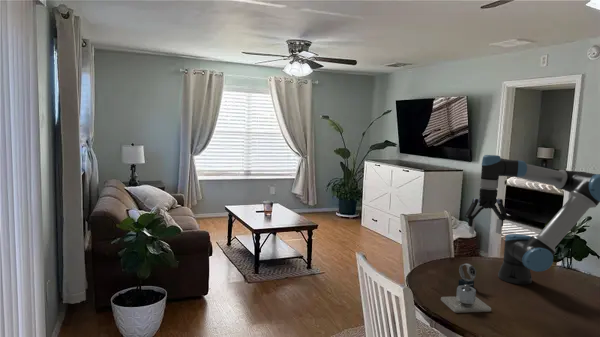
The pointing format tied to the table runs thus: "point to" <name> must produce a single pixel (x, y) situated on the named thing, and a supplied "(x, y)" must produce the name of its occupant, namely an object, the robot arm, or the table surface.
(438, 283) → the table surface
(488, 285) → the table surface
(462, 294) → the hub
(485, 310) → the block
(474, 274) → the watch
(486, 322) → the table surface
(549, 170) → the robot arm
